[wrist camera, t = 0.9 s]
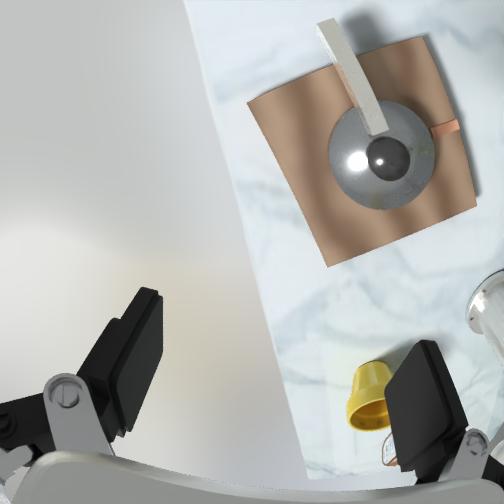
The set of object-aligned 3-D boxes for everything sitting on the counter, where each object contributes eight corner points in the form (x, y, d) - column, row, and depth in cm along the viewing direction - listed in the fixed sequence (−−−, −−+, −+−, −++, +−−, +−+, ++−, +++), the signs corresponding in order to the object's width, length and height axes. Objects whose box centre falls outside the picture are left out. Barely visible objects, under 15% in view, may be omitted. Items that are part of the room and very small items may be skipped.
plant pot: (363, 346, 46) (372, 393, 38) (410, 359, 47) (422, 402, 38) (333, 383, 51) (335, 427, 43) (378, 393, 52) (384, 435, 43)
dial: (439, 183, 31) (455, 194, 27) (351, 219, 35) (358, 235, 31) (369, 15, 24) (379, 3, 20) (270, 51, 27) (267, 44, 23)
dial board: (415, 39, 25) (422, 35, 23) (470, 200, 33) (478, 206, 31) (248, 102, 32) (246, 102, 30) (326, 259, 40) (327, 268, 38)
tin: (388, 444, 62) (392, 471, 54) (378, 444, 62) (381, 472, 54) (415, 413, 54) (422, 443, 47) (403, 413, 55) (410, 444, 47)
